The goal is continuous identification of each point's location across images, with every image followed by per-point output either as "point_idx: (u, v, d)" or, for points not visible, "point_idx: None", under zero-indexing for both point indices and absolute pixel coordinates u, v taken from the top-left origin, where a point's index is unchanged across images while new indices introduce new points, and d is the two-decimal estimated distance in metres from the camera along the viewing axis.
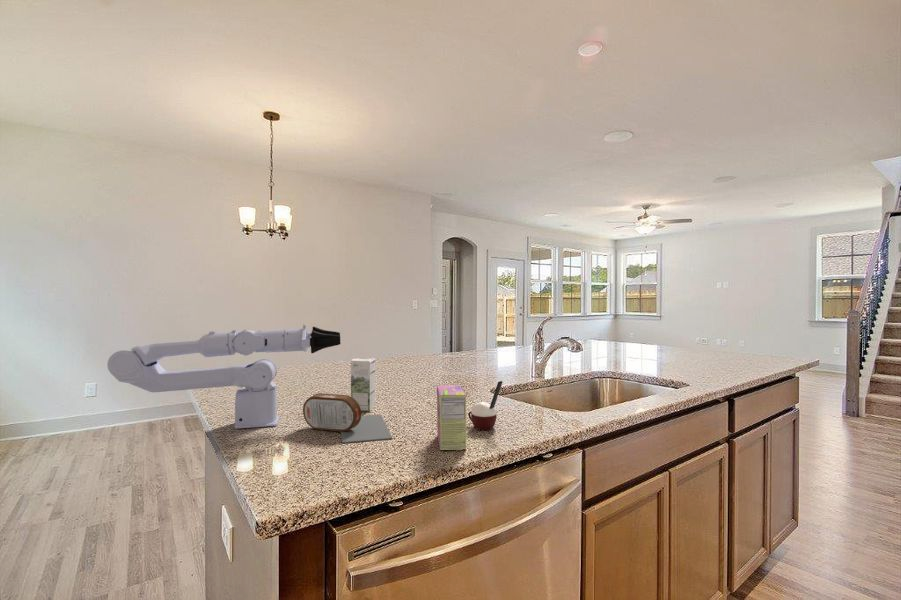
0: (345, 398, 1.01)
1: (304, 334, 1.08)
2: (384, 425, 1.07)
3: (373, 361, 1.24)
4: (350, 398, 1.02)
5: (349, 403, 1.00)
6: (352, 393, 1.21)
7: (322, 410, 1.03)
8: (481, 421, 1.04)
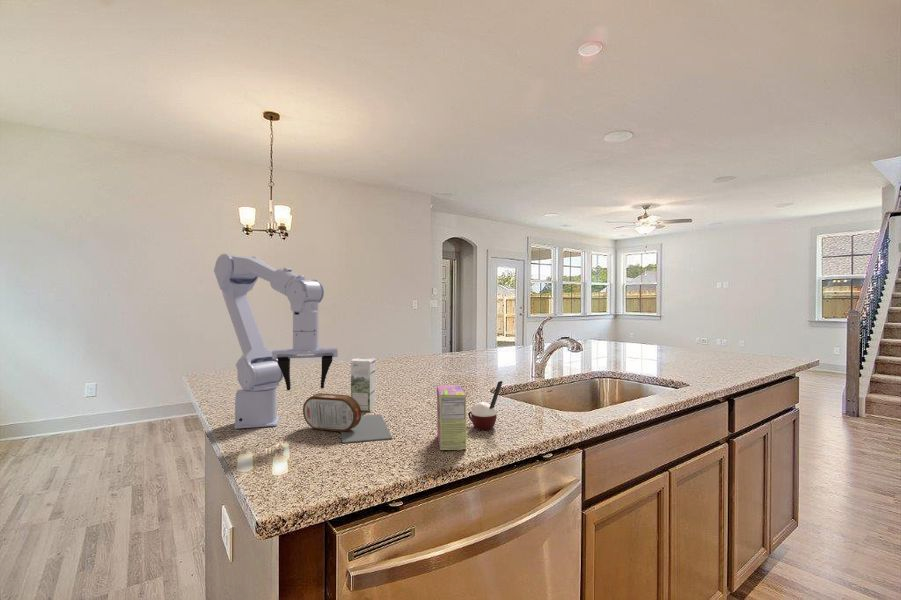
0: (345, 398, 1.01)
1: (287, 353, 0.99)
2: (384, 425, 1.07)
3: (373, 361, 1.24)
4: (350, 398, 1.02)
5: (349, 403, 1.00)
6: (352, 393, 1.21)
7: (322, 410, 1.03)
8: (481, 421, 1.04)
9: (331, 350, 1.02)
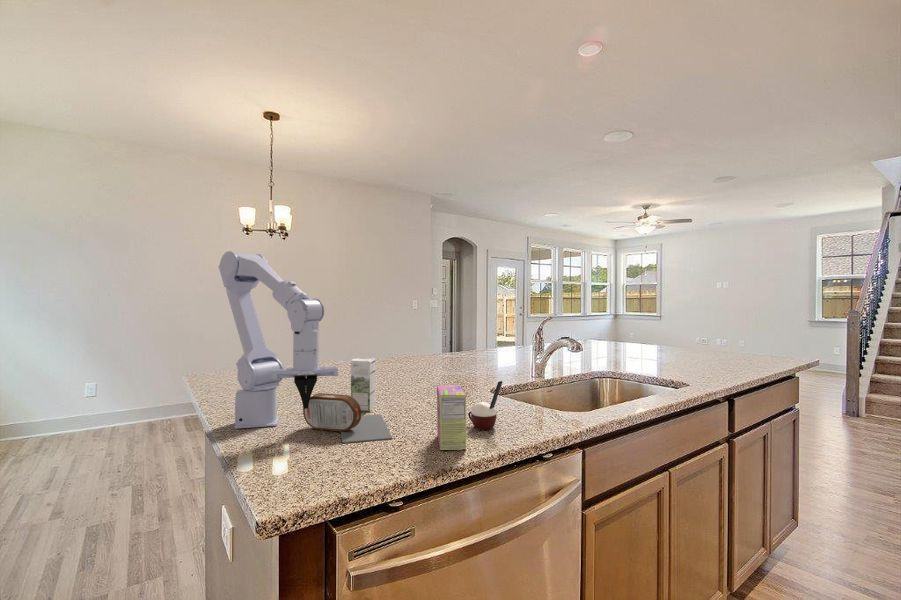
0: (345, 398, 1.01)
1: (287, 372, 0.99)
2: (384, 425, 1.07)
3: (373, 361, 1.24)
4: (350, 398, 1.02)
5: (349, 403, 1.00)
6: (352, 393, 1.21)
7: (322, 409, 1.03)
8: (481, 421, 1.04)
9: (331, 369, 1.02)
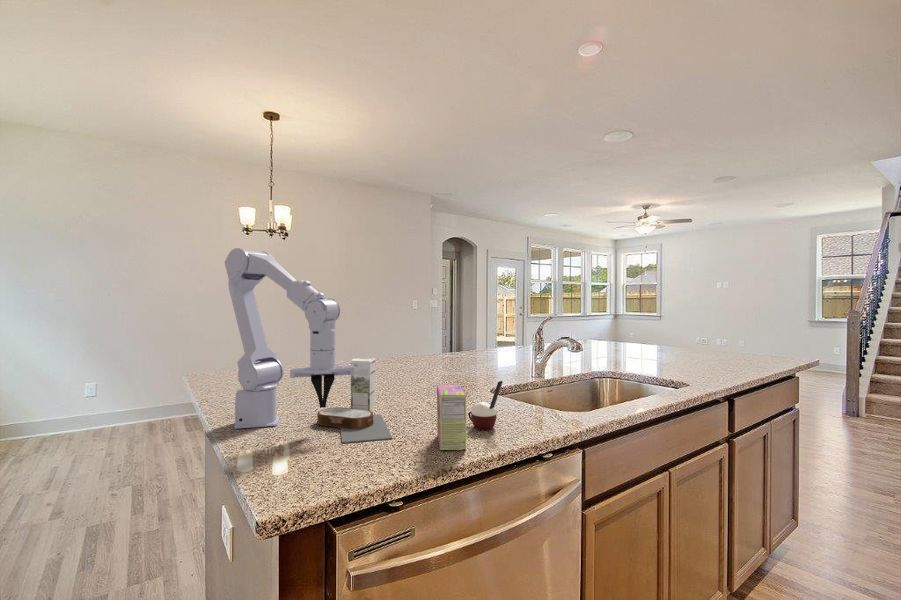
0: None
1: (305, 372, 1.00)
2: (384, 425, 1.07)
3: (373, 361, 1.24)
4: None
5: None
6: (352, 393, 1.21)
7: (342, 411, 1.10)
8: (481, 421, 1.04)
9: (348, 368, 1.03)
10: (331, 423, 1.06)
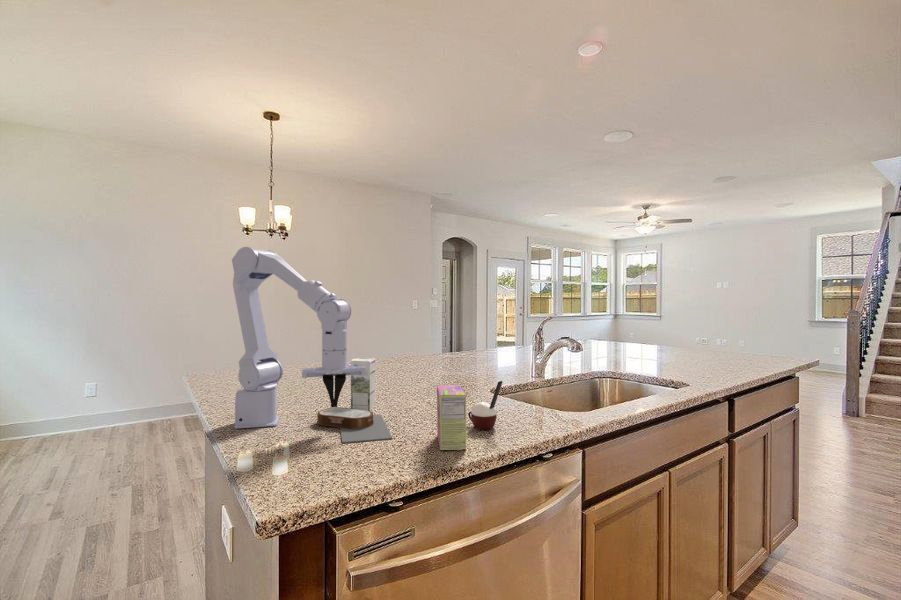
0: None
1: (317, 372, 1.01)
2: (384, 425, 1.07)
3: (373, 361, 1.24)
4: None
5: None
6: (352, 393, 1.21)
7: (342, 411, 1.10)
8: (481, 421, 1.04)
9: (359, 368, 1.04)
10: (331, 423, 1.06)
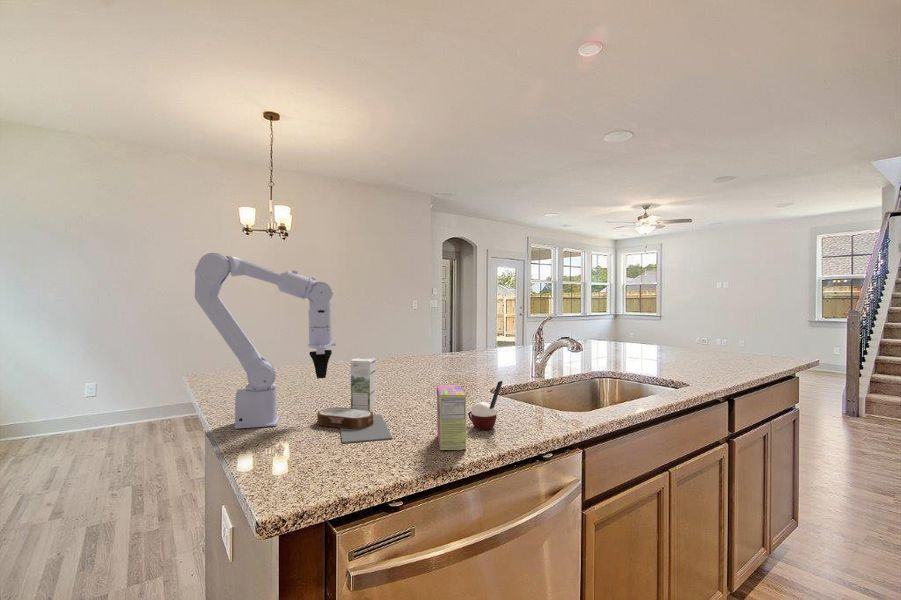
0: None
1: (327, 346, 1.12)
2: (384, 425, 1.07)
3: (373, 361, 1.24)
4: None
5: None
6: (352, 393, 1.21)
7: (342, 411, 1.10)
8: (481, 421, 1.04)
9: None
10: (331, 423, 1.06)
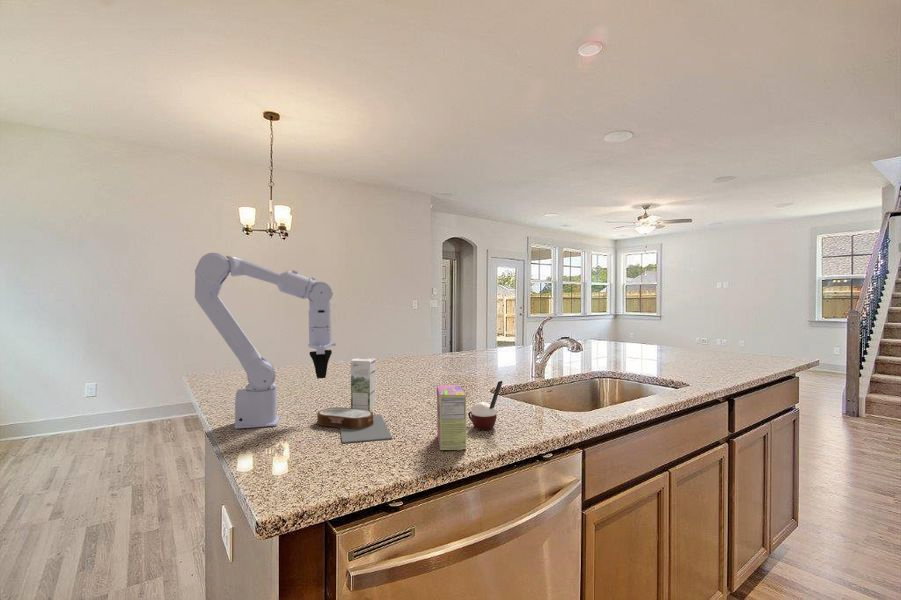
0: None
1: (327, 346, 1.12)
2: (384, 425, 1.07)
3: (373, 361, 1.24)
4: None
5: None
6: (352, 393, 1.21)
7: (342, 411, 1.10)
8: (481, 421, 1.04)
9: None
10: (331, 423, 1.06)
